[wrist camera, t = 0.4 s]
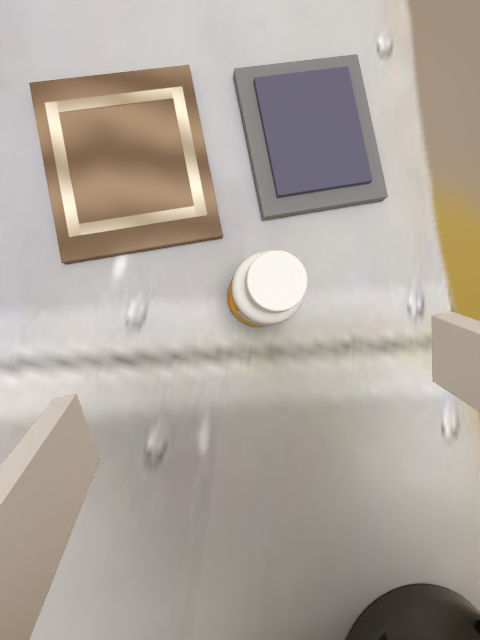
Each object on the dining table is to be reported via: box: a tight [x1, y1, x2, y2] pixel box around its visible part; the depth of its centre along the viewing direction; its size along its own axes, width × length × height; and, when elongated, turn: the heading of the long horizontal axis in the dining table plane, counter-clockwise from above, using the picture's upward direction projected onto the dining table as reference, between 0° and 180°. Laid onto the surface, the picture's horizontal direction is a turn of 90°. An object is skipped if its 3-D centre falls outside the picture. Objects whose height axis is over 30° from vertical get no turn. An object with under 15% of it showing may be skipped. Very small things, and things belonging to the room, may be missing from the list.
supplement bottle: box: [227, 250, 307, 327], centre depth 27 cm, size 5×5×10 cm
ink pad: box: [233, 54, 388, 220], centre depth 32 cm, size 14×12×2 cm
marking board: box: [29, 65, 223, 264], centre depth 31 cm, size 16×14×1 cm
